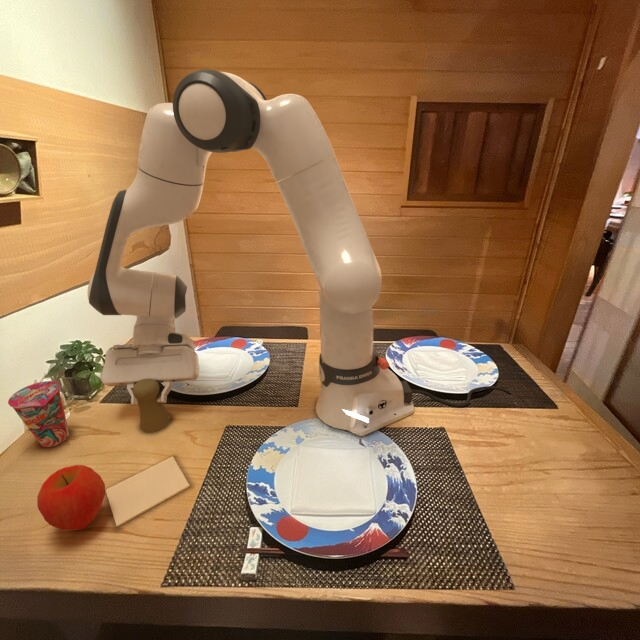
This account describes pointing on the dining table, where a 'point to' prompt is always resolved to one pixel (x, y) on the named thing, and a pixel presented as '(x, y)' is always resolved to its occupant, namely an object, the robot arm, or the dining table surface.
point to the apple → (71, 497)
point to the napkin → (145, 490)
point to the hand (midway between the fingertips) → (148, 403)
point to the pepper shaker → (150, 406)
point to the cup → (42, 412)
